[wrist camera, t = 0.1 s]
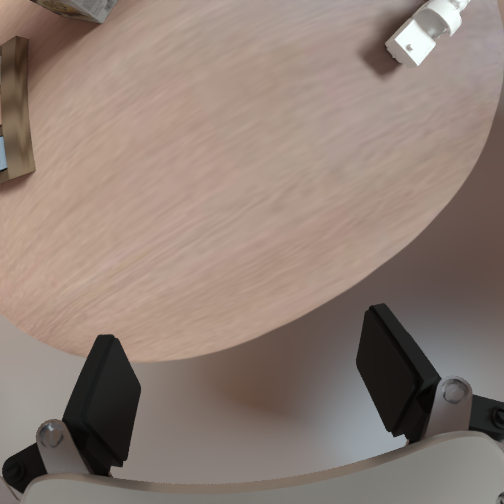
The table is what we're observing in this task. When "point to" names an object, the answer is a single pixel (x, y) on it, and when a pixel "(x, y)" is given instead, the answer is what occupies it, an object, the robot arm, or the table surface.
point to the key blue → (2, 155)
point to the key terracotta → (0, 112)
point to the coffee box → (80, 8)
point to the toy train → (425, 30)
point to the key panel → (15, 109)
